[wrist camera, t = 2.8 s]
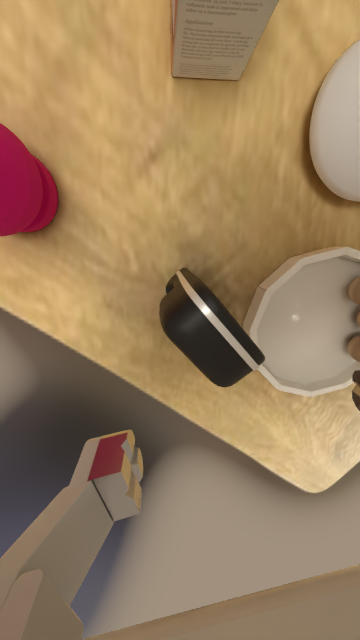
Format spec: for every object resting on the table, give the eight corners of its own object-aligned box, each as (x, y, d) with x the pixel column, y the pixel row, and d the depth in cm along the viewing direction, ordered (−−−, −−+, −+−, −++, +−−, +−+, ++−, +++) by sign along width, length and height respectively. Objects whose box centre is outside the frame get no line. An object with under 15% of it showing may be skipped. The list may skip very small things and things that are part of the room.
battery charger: (154, 289, 22) (148, 330, 12) (182, 263, 22) (204, 281, 11) (197, 336, 25) (227, 408, 14) (225, 314, 24) (278, 370, 13)
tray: (387, 232, 23) (408, 230, 21) (378, 366, 28) (394, 375, 26) (234, 271, 23) (241, 273, 21) (254, 398, 28) (261, 409, 26)
